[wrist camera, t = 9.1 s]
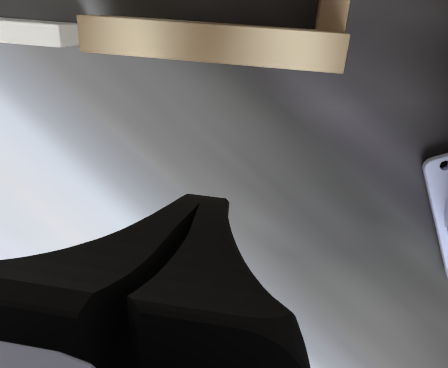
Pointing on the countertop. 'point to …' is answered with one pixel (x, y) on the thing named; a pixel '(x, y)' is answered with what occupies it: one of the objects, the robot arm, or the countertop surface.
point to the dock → (38, 32)
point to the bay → (224, 40)
